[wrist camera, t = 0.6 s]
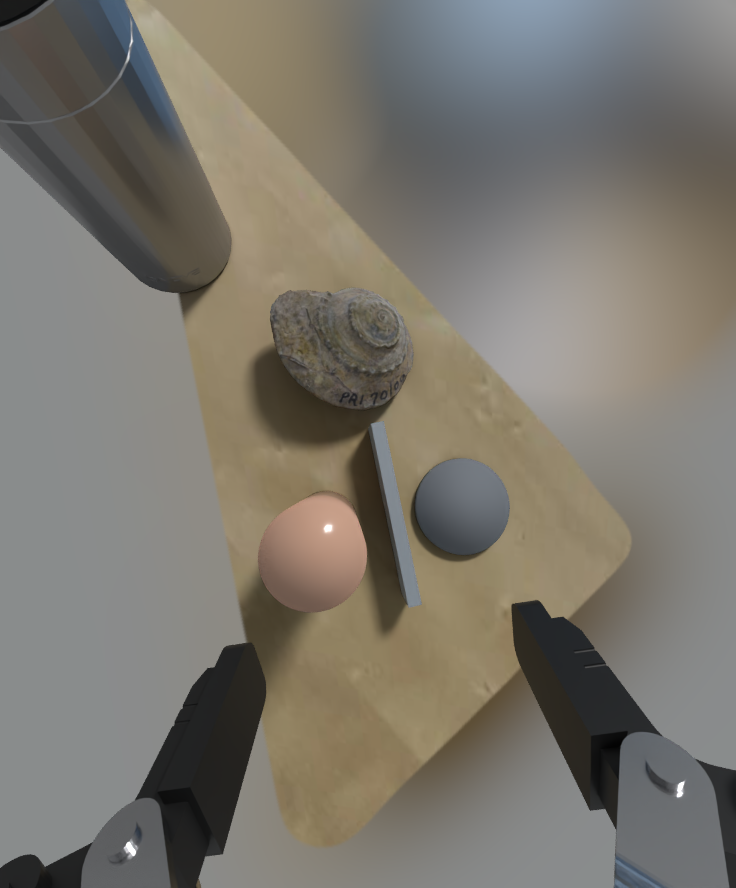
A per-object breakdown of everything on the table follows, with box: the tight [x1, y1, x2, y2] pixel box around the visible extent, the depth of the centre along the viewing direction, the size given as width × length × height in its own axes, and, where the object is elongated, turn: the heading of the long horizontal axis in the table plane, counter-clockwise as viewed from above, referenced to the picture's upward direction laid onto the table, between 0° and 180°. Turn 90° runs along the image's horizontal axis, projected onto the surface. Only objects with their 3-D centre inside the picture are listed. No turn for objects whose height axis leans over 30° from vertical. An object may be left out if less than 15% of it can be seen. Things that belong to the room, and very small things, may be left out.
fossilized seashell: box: [270, 288, 413, 410], centre depth 28 cm, size 11×11×7 cm
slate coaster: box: [415, 459, 510, 555], centre depth 29 cm, size 8×8×1 cm
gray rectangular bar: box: [368, 421, 422, 607], centre depth 27 cm, size 14×1×3 cm, turn 12°
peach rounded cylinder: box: [258, 491, 367, 612], centre depth 22 cm, size 5×5×12 cm
